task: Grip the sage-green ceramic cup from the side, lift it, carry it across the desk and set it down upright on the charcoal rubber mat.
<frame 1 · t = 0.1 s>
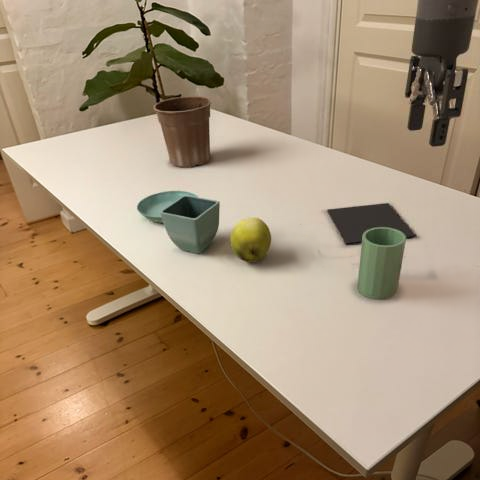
hand: (424, 137, 72), 22 cm above the table, tool pointing down, fingers open, 8 cm apart
flower pot: (196, 247, 96), on the table
apple: (252, 258, 91), on the table
cup: (377, 288, 79), on the table
mat: (368, 223, 98), on the table
plant pot: (190, 161, 139), on the table
saucer: (170, 214, 110), on the table
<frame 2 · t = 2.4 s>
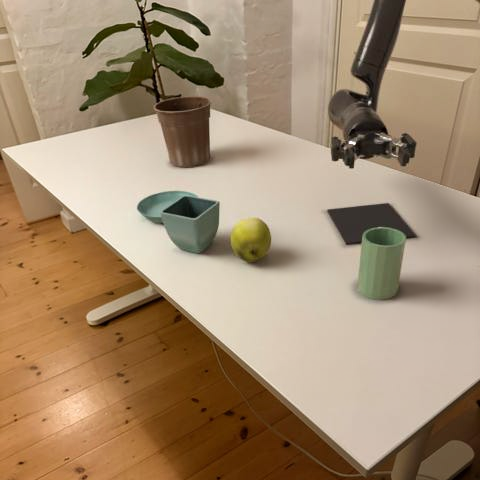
hand: (378, 161, 77), 18 cm above the table, tool horizontal, fingers open, 8 cm apart
nothing on the table moved.
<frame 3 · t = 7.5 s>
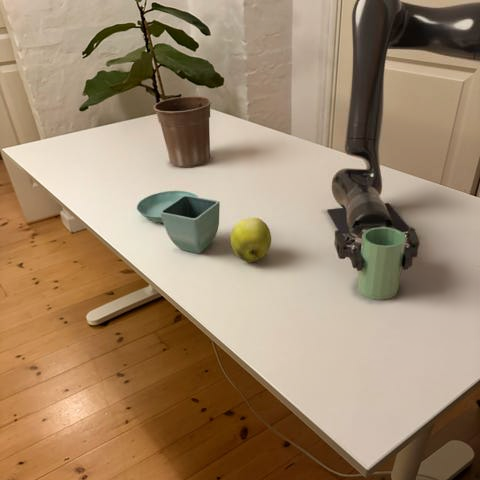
hand: (383, 265, 74), 6 cm above the table, tool horizontal, fingers closed on cup, 6 cm apart
cup: (377, 288, 79), on the table, touching gripper
everything else where it was.
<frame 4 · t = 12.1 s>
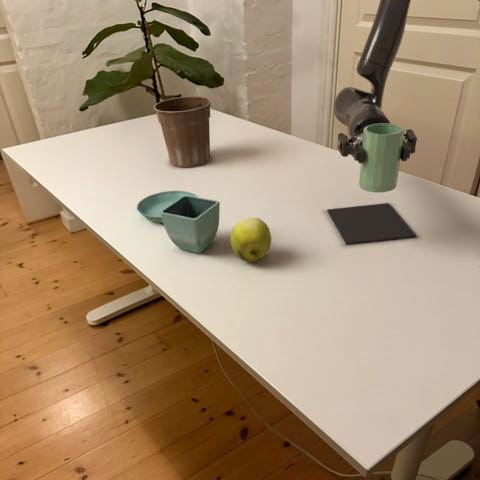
hand: (383, 156, 79), 18 cm above the table, tool horizontal, fingers closed on cup, 6 cm apart
cup: (377, 185, 85), point 12 cm above the table, touching gripper
everything else where it was.
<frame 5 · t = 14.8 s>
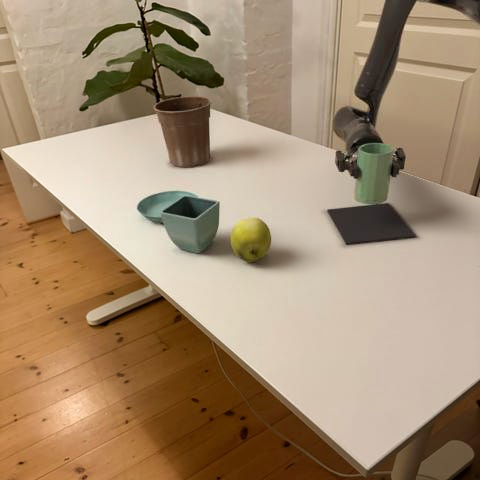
hand: (375, 173, 90), 12 cm above the table, tool horizontal, fingers closed on cup, 6 cm apart
cup: (370, 197, 95), point 6 cm above the table, touching gripper
everything else where it was.
when the fingers open (7 cm above the table, at t = 16.9 s): cup stays where it is, resting on mat.
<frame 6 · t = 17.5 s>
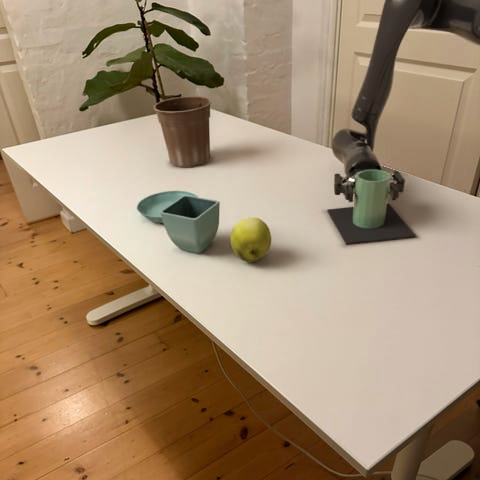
hand: (373, 196, 93), 7 cm above the table, tool horizontal, fingers open, 8 cm apart
cup: (368, 221, 98), resting on mat
everything else where it was.
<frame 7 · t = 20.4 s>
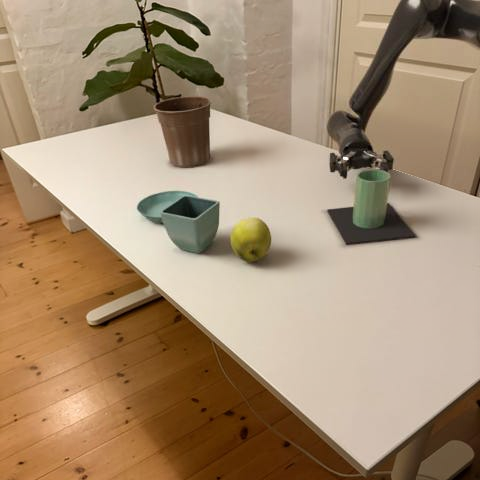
hand: (365, 173, 103), 7 cm above the table, tool horizontal, fingers open, 8 cm apart
nothing on the table moved.
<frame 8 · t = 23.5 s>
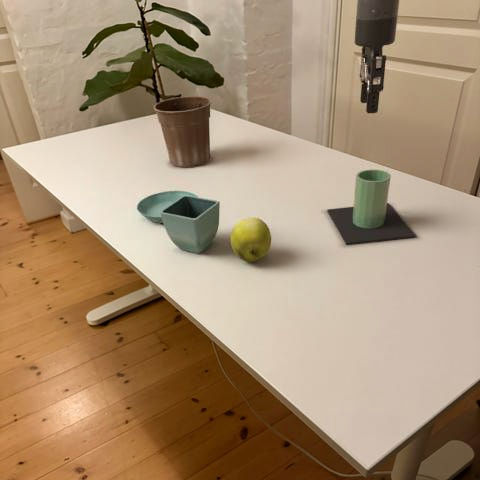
hand: (368, 107, 96), 20 cm above the table, tool pointing down, fingers open, 8 cm apart
nothing on the table moved.
at the end: cup inside the target area on the mat (0.0 cm from its centre), point 0.5 cm above the mat's base; cup tilted 0°; the gripper is holding nothing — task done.
